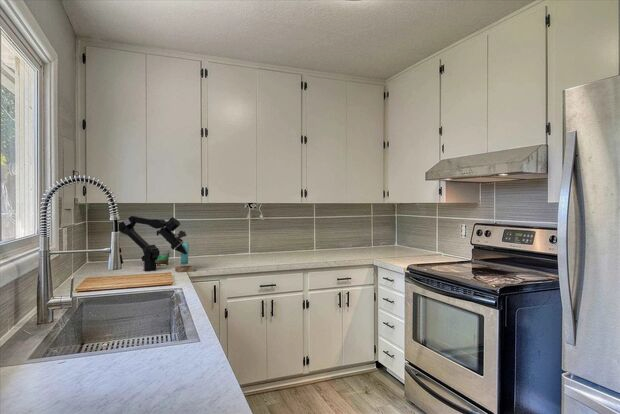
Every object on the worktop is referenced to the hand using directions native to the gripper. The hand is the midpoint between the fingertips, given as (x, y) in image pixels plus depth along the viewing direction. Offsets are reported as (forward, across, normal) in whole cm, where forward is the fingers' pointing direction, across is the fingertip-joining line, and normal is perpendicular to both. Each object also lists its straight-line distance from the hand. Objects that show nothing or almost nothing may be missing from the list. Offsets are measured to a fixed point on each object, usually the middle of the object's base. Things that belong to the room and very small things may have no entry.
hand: (186, 253), depth 238 cm
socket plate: (+7, 0, +8) cm, 11 cm away
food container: (-6, +32, +22) cm, 39 cm away
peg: (+4, 0, +6) cm, 7 cm away
